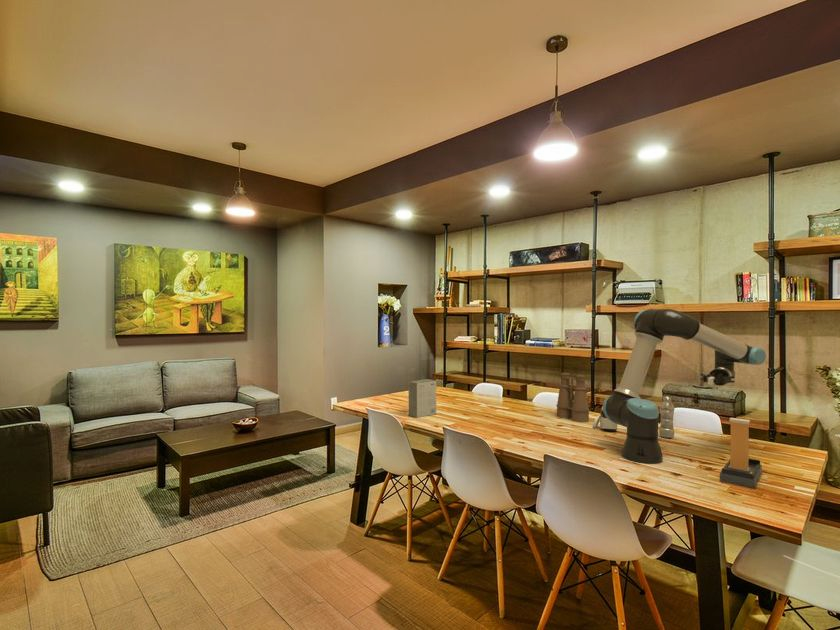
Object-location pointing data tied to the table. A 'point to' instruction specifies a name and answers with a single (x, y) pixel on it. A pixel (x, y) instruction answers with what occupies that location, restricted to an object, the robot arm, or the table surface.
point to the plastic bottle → (666, 418)
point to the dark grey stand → (742, 474)
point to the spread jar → (605, 423)
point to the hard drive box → (422, 398)
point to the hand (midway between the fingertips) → (709, 381)
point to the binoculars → (573, 399)
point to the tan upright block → (739, 445)
